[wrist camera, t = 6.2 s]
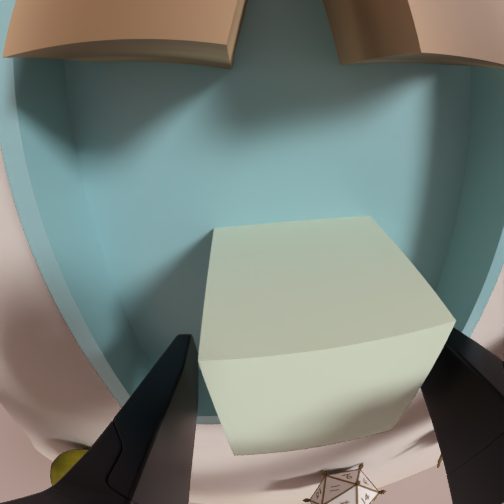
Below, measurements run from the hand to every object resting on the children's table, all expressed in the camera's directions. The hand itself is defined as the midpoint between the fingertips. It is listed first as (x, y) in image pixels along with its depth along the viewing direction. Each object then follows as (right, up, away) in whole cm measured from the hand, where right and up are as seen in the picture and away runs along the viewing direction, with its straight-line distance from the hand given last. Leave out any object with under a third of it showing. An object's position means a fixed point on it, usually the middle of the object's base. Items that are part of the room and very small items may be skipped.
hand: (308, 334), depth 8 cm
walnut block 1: (-4, +9, -3) cm, 10 cm away
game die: (+9, -24, +18) cm, 31 cm away
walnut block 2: (+2, +10, -3) cm, 10 cm away
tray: (0, +5, 0) cm, 5 cm away
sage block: (0, +1, +2) cm, 2 cm away
